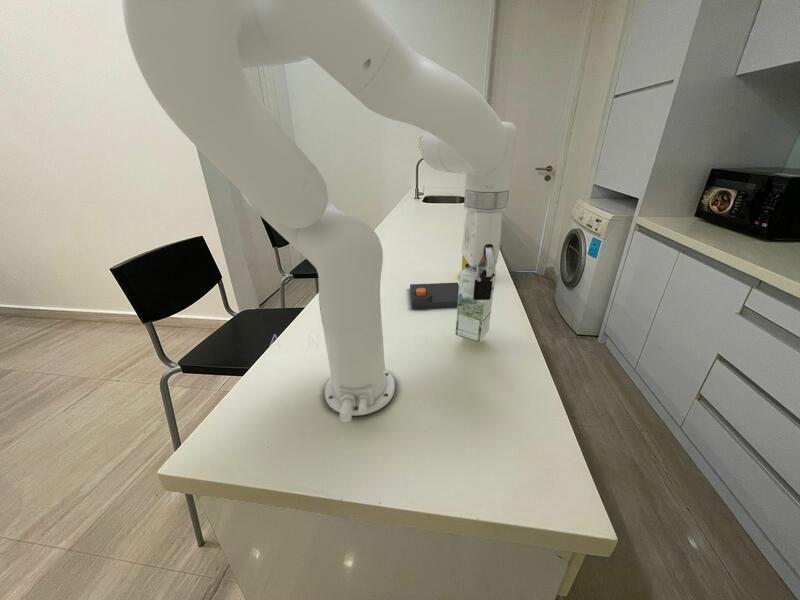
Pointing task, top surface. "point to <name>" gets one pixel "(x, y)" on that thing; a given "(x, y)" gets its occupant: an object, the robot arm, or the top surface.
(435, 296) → the scale
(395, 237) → the top surface
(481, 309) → the syrup box
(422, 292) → the button
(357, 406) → the robot arm
